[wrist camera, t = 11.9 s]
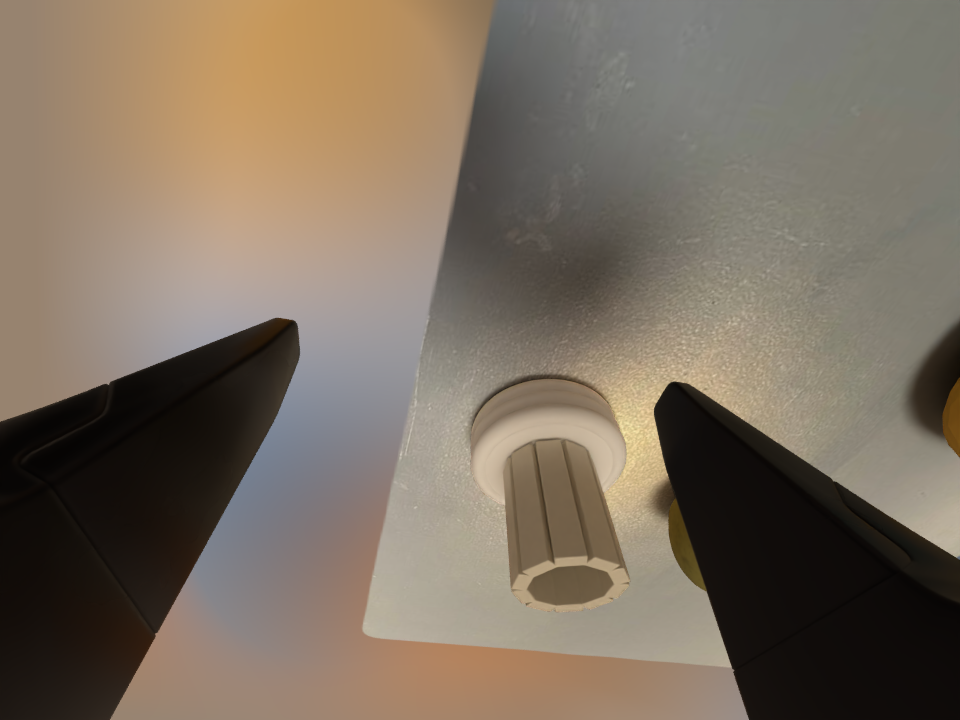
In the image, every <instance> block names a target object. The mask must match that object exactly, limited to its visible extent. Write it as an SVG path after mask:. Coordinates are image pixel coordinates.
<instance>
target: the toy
mask: <svg viewBox="0 0 960 720" xmlns="http://www.w3.org/2000/svg"><path fill="white" fill-rule="evenodd" d="M942 418H943V434H944V436H945V438H946V440H947V442H948V445H949V446H950V447H951V448H952V449H953V450H954V452H955V453H956V454H957V455H958V456H959V457H960V377H959V379H958V380H957V382H956V383H955V385H954V387H953V388H952V390H951V391H950V394H949V397H948V400H947V403H946V406H945V409H944V412H943V415H942Z"/></svg>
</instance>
